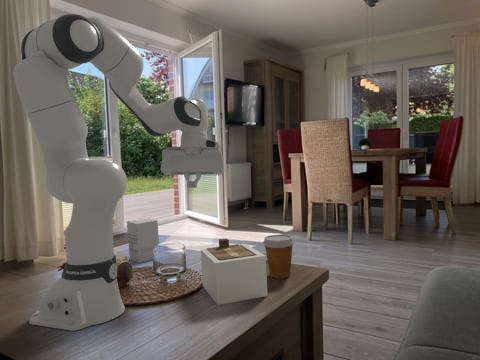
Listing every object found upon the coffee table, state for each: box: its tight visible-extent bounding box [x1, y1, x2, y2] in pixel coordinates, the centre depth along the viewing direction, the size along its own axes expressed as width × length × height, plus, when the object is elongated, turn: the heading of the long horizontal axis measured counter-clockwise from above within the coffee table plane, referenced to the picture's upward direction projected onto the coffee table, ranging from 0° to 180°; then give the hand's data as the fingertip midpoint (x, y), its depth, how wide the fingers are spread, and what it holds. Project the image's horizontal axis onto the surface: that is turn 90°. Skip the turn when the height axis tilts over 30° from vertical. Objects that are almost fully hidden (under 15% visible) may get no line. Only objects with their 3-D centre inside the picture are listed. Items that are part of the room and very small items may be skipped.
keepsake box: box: [200, 243, 268, 306], centre depth 108 cm, size 16×14×11 cm
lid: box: [205, 237, 255, 261], centre depth 110 cm, size 14×10×4 cm
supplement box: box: [126, 217, 160, 264], centre depth 148 cm, size 9×9×15 cm
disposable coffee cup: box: [262, 234, 295, 279], centre depth 120 cm, size 10×10×12 cm
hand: (191, 187), depth 121 cm, fingers closed
